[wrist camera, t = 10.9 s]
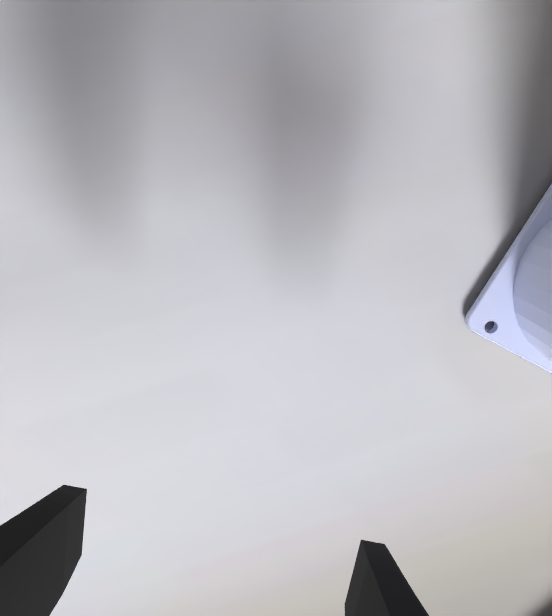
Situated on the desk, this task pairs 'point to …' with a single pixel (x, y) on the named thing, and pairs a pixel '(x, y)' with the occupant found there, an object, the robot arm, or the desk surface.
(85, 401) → the desk surface
